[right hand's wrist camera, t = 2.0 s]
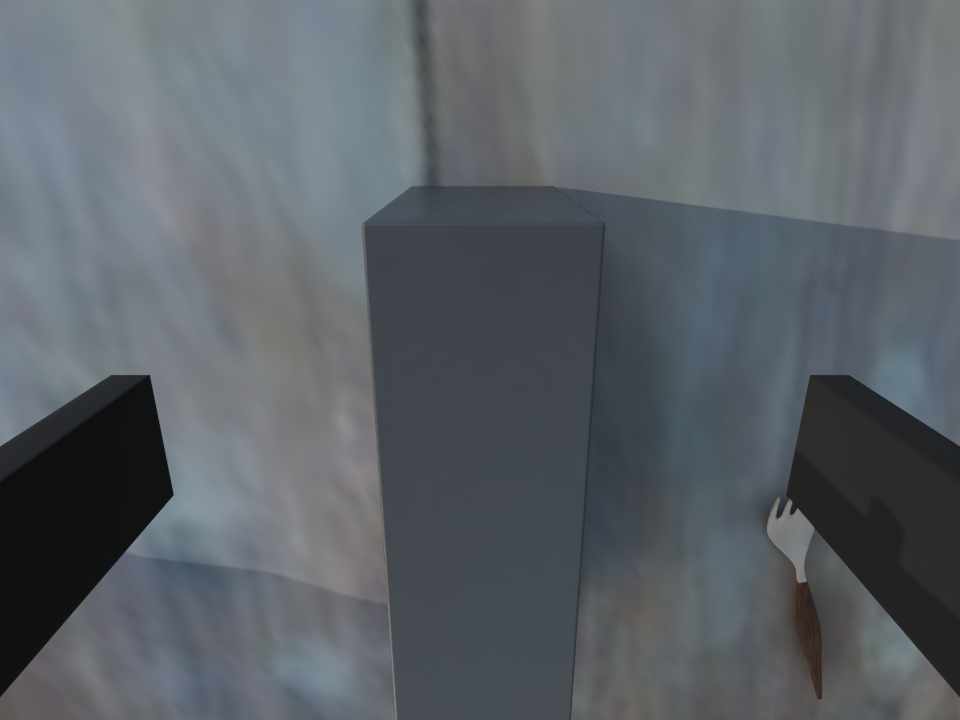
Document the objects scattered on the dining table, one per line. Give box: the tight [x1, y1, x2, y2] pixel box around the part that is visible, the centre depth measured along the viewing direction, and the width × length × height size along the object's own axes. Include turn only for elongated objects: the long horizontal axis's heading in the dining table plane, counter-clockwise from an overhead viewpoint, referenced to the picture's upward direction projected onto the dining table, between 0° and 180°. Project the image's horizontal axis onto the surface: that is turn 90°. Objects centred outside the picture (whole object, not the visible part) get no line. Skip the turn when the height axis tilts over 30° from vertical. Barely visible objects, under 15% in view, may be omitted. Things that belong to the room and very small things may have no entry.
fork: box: [767, 497, 822, 700], centre depth 33 cm, size 3×16×2 cm, turn 17°
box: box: [362, 187, 605, 720], centre depth 26 cm, size 24×6×12 cm, turn 0°
